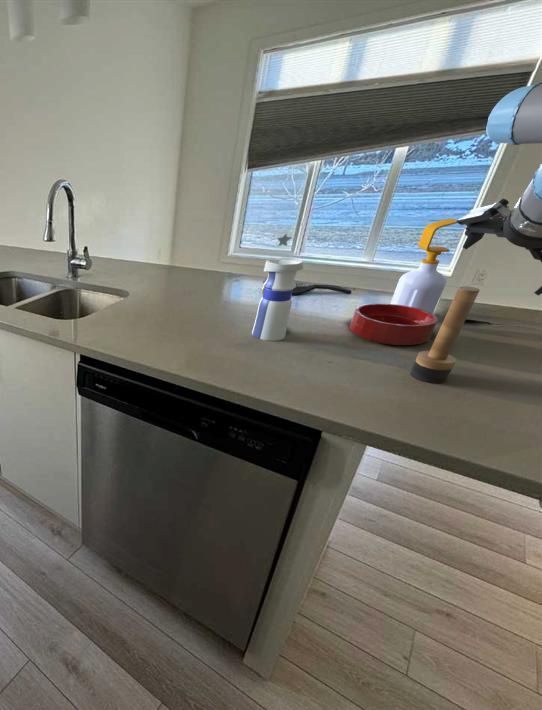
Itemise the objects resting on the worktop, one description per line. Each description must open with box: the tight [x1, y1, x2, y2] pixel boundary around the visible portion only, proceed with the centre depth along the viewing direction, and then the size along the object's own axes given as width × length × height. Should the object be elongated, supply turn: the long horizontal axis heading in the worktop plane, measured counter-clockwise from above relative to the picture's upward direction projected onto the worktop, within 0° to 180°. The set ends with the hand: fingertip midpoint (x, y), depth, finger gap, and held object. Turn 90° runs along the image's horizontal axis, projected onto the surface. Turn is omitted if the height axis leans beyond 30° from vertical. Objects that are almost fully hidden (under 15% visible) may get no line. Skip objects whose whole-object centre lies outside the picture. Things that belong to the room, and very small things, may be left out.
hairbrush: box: [262, 277, 353, 296], centre depth 130 cm, size 8×4×25 cm
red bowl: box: [349, 302, 439, 346], centre depth 99 cm, size 15×15×6 cm
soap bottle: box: [389, 217, 458, 315], centre depth 103 cm, size 9×9×25 cm
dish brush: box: [409, 285, 481, 384], centre depth 79 cm, size 6×6×19 cm
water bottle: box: [251, 232, 304, 342], centre depth 100 cm, size 8×8×25 cm
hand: (506, 264), depth 75 cm, fingers open, 13 cm apart
